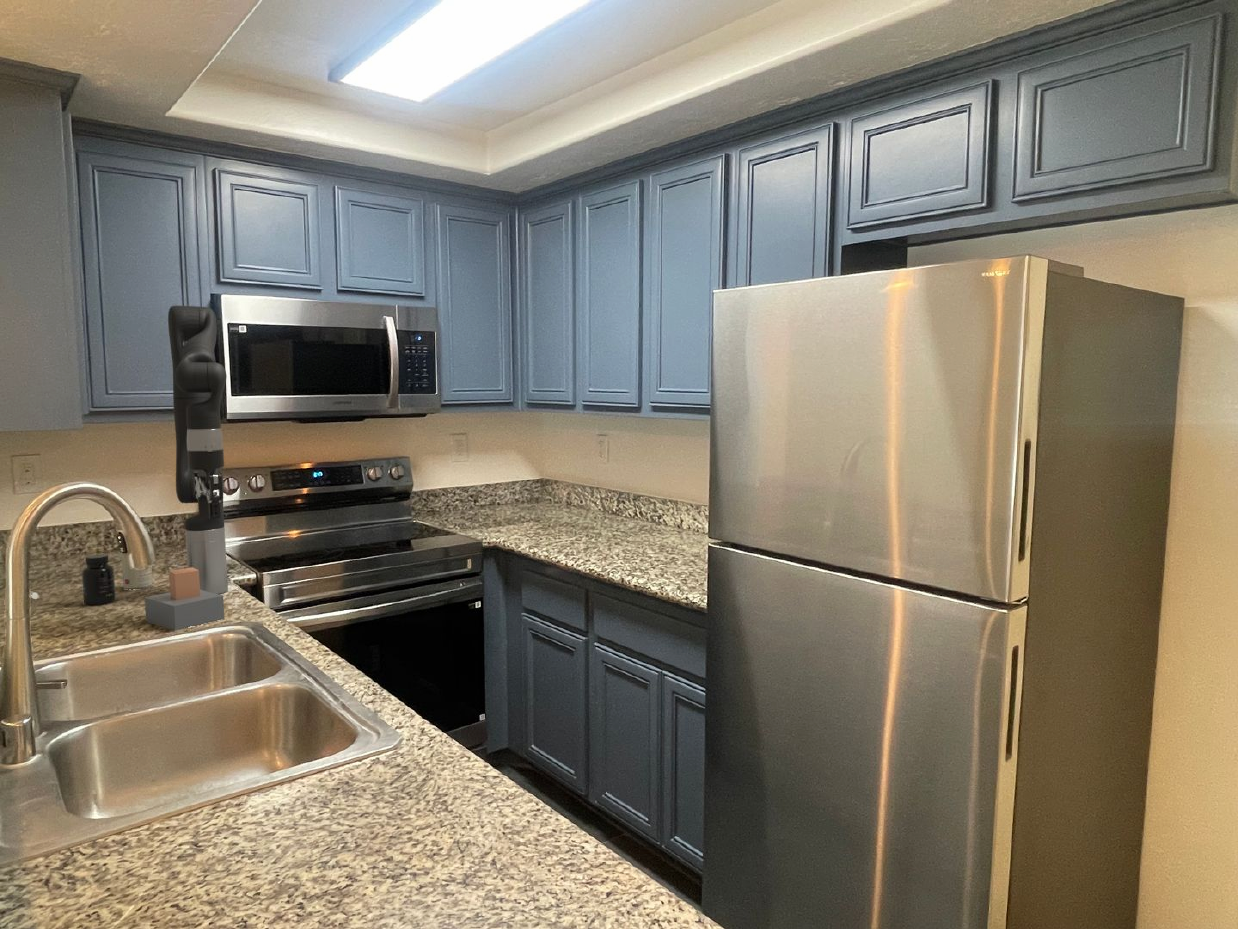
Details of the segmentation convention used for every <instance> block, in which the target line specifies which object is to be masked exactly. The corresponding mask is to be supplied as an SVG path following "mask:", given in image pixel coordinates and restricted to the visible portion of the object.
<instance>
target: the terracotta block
mask: <svg viewBox="0 0 1238 929" xmlns="http://www.w3.org/2000/svg"><path fill="white" fill-rule="evenodd" d="M168 576H169V577H168V578H169V592H170V595H171V597H173V598H174V599H176V600H180V599H186V598H192V597H198V596H200V581H199V570H197V569H195V568H193V567H191V568H188V567H186V568H184V567H183V568H178V569H170V570H168Z"/></svg>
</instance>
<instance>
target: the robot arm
mask: <svg viewBox="0 0 1238 929" xmlns="http://www.w3.org/2000/svg"><path fill="white" fill-rule="evenodd" d="M167 316H168V317H167V323H168V325H167V326H168V334H169V335H168V336H169V344H170V352H171V361H172V388H173V389H172V398H173V400H172V401H173V416H174V418H173V419H174V427H175V428H174V429H175V441H176V443H175V444H176V446H175V448H176V450H175V451H176V455H175V490H176V492H175V493H176V498H177V500H178V501H179V503H181V504H197V509H198V513H197V514H195V515H192V516H189V517H187V518H186V519H185V521H184V532H185V546H186V549H185V550H186V561H187V562H186V563H187V564H186V565H187V568H191V567H193V568H195V569H197V570H199V581H200V590H203V591H207V592H211V593H215V594H219V595H221V594H223V593H226V592H228V591H229V582H228V564H227V563H228V562H227V549H226V548H227V546H226V533H225V517H224V516H225V514H224V512H225V511H224V476H223V472H222V469H223V468H224V466H225V459H224V458H225V456H224V455H225V454H224V440H223V433H222V427H221V426H222V425H221V403H222V397H223V394H224V390H225V385H226V382H227V372H226V369H225V367H224V366H223V365H222V364H221V363H218V362H216V361H217V360H216V356H215V355H216V354H215V347H216V343H217V342H216V341H217V333H218V331H217V330H218V326H217V322H218V321H217V317H216V314H215V312H214V310H213V309H212V308H210V307H208V306H207V307H206V306H199V305H198V306H196V305H194V306H193V305H172V306H170V307H169V309H168V315H167ZM184 343H185V344H184Z"/></svg>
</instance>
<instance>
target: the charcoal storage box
mask: <svg viewBox="0 0 1238 929" xmlns="http://www.w3.org/2000/svg"><path fill="white" fill-rule="evenodd" d="M224 605H225V604H224V595H222V594H215V593H211V592H207V591H203V590H200V596H198V597H192V598H186V599H180V600H176V599H174V598H173V597H171V595H170V591H169V592H166V593H159V594H155V595H150V596H145V597H144V609H145V621H147V623H150V624H152V625H156V626H160V627H162V626H163V627H162V628H165V629H168V630H171V631H174V632H178V631H181V630H185V629H184V628H186V629H189V628H188V627H190V626H195V627H198V626H197V625H199V626H202V625H201V624H203V625H205V624H204V623H207V624H209V623H208V622H212V623H214V622H213V621H216V622H218V621H217V620H220V621H222V620H221V619H224V620H225V606H224Z"/></svg>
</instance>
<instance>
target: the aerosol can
mask: <svg viewBox="0 0 1238 929" xmlns="http://www.w3.org/2000/svg"><path fill="white" fill-rule="evenodd" d="M145 525H146V527H147V528H148V531H149V532H150V528H149V525H148V524H145ZM120 555H121V570H122V584H123V590H124V589H128V590H129V589H131V590H133V589H145V590H147V589H146V588H149V587H151V586H152V585H153V568H152V566H151V567H150V568H148V569H147V570H132V569H130V568H129V566H128V564H127V561H126V558H125V556H124V555H123V553H122V552H121V551H120ZM149 589H150V588H149Z"/></svg>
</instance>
